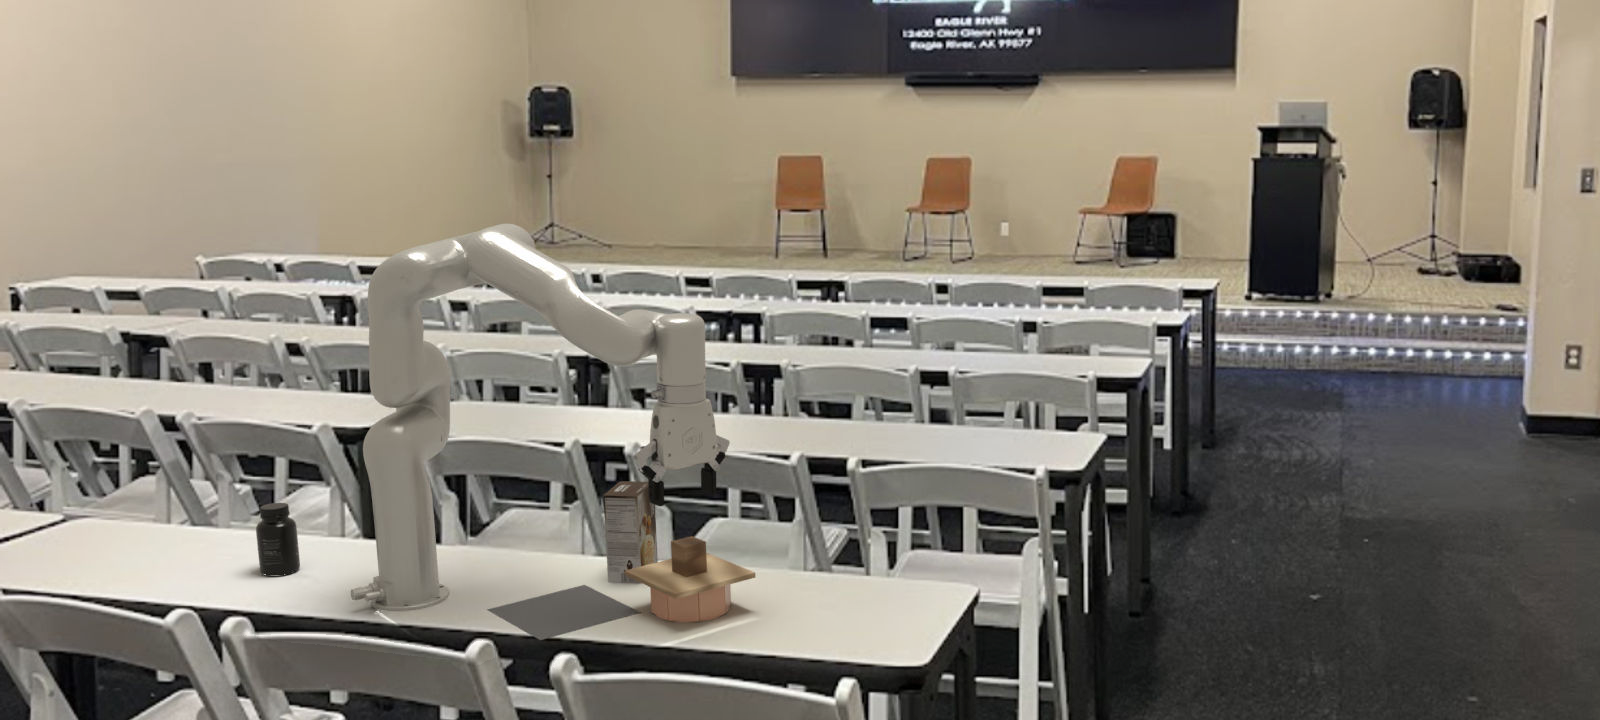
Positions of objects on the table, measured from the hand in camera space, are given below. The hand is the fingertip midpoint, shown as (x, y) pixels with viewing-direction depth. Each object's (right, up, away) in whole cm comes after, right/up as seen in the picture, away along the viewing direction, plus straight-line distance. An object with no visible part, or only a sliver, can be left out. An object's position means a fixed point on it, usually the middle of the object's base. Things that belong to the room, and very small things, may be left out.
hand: (683, 499), depth 242 cm
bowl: (+1, -18, +3) cm, 19 cm away
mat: (-19, -19, +4) cm, 27 cm away
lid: (+1, -13, +2) cm, 13 cm away
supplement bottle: (-74, -16, +30) cm, 81 cm away
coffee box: (-10, -16, +21) cm, 28 cm away
